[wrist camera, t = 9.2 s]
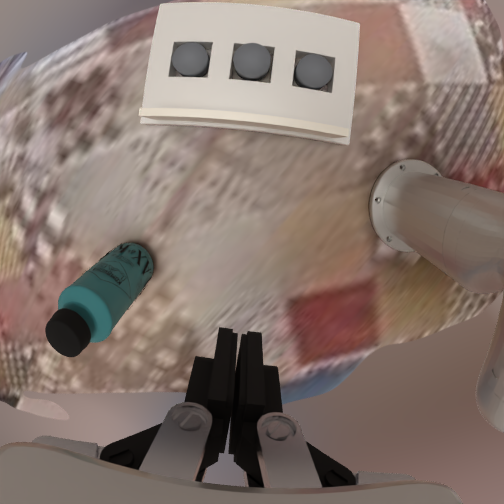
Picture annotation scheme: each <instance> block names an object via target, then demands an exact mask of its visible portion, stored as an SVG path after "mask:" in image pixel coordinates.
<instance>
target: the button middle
mask: <svg viewBox="0 0 504 504" xmlns="http://www.w3.org/2000/svg"><path fill="white" fill-rule="evenodd" d="M233 62H234V66H235V70H236V73H237V74H238V75H239V76H240V77H241V78H242V79H244V80H247V81H257V80H260V79H262V78H263V77H265V76H266V74H267V73H268V71H269V67H270V62H271V56H270V53H269V51H268V50H267V49H266V48H265V47H264V46H262V45H260V44H257V43H247V44H244V45H242V46H240V47H239V48H238V49H237V50H236V51H235V53H234V56H233Z"/></svg>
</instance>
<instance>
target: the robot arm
mask: <svg viewBox="0 0 504 504" xmlns="http://www.w3.org/2000/svg"><path fill="white" fill-rule="evenodd" d="M400 165H401V169H400ZM376 197H377V200H376V201H375V198H376ZM369 212H370V219H371V222H372V226H373V228H374V230H375V232H376V234H377V235H378V236H379V238H380V239H381V240H382V241H383V242H384V243H385V244H387V245H388V246H390V247H391V248H393V249H395V250H398V251H402V252H415V251H416V252H417V253H419V254H420V255H421V256H423V257H424V258H426V259H427V260H428V261H430V262H431V263H432V264H434V265H435V266H436V267H437V268H439V269H440V270H441V271H443V272H444V273H445V274H447V275H448V276H449V277H451V278H452V279H453V280H455V281H456V282H457V283H458V284H460V285H461V286H462V287H464V288H465V289H467V290H469V291H471V292H474V293H479V294H489V293H494V292H498V291H501V290H503V291H504V193H502V192H498V191H495V190H491V189H487V188H484V187H480V186H476V185H473V184H469V183H465V182H461V181H457V180H453V179H449V178H444V177H442V176H441V174H440V173H439V172H438V171H437V170H436V169H435V168H434V167H433V166H431V165H430V164H428V163H426V162H423V161H420V160H415V159H406V160H401V161H398V162H396V163H393V164H392V165H390V166H389V167H388V168H386V169H385V170H384V171H383V172H382V173H381V174H380V176H379V177H378V179H377V181H376V182H375V184H374V187H373V189H372V192H371V196H370V203H369ZM387 237H388V238H387ZM386 238H387V239H386ZM232 332H233V329H228V328H221V327H219V332H218V338H217V344H216V350H215V356H214V359H211V358H205V357H198V356H196V357H195V360H194V364H193V368H192V372H191V376H190V380H189V385H188V389H187V393H186V397H185V402H182V403H179V404H176V405H175V406H173V407H171V409H170V410H169V411H168V413H167V415H166V417H165V419H164V421H163V423H161V424H158V425H156V426H154V427H151V428H149V429H147V430H144V431H142V432H139V433H137V434H134V435H132V436H129V437H127V438H124V439H121V440H119V441H116V442H113V443H111V444H109V445H107V446H106V447H101V446H98V445H97V443H89V442H82V441H75V440H69V439H63V438H57V437H52V436H40V437H37V438H36V439H34V440H33V441H32V442H16V443H9V444H6V445H4V446H2V447H0V504H463V502H462V501H461V499H460V498H459V496H458V495H457V493H456V492H455V491H454V490H453V489H452V488H450V487H448V486H446V485H444V484H441V483H437V482H432V481H424V480H415V478H413V477H412V476H410V475H406V474H393V473H391V474H390V473H376V472H364V471H358V473H352V472H351V471H350V470H349V469H348V468H346V467H345V466H343V465H341V464H340V463H338V462H337V461H335V460H333V459H332V458H330V457H329V456H327V455H326V454H324V453H322V452H321V451H320V450H318V449H317V448H315V447H314V446H312V445H311V444H309V443H308V442H306V441H305V438H304V435H303V433H302V429H301V427H300V425H299V423H298V421H296V420H295V419H294V418H293V417H291V416H289V415H287V414H284V413H283V411H282V401H281V392H280V383H279V373H278V367H277V366H268V365H263V351H262V333H259V332H251V331H248V332H247V335H246V334H242V336H241V342H240V348H239V354H238V359H237V365H236V352H237V337H238V333H232ZM235 368H236V371H235ZM476 401H477V405H478V408H479V411H480V412H481V414H482V416H483V417H484V418H485V420H486V421H487V422H488V423H489V424H490V425H492V426H493V427H494V428H496V429H497V430H499V431H501V432H503V433H504V293H503V301H502V305H501V309H500V313H499V319H498V322H497V325H496V328H495V332H494V335H493V338H492V341H491V344H490V346H489V350H488V352H487V355H486V358H485V361H484V363H483V366H482V369H481V372H480V375H479V378H478V382H477V388H476ZM230 418H231V422H230ZM229 423H230V439H229V454H234V462H236V464H237V465H239V466H240V467H241V468H242V469H243V470H244V471H243V476H244V482H245V487H241V486H240V487H239V486H228V485H219V484H211V483H203V480H204V478H205V474H206V471H207V467H209V466H211V465H212V464H214V463H216V462H217V461H218V456H219V453H224V450H225V445H226V440H227V434H228V429H229Z"/></svg>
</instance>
